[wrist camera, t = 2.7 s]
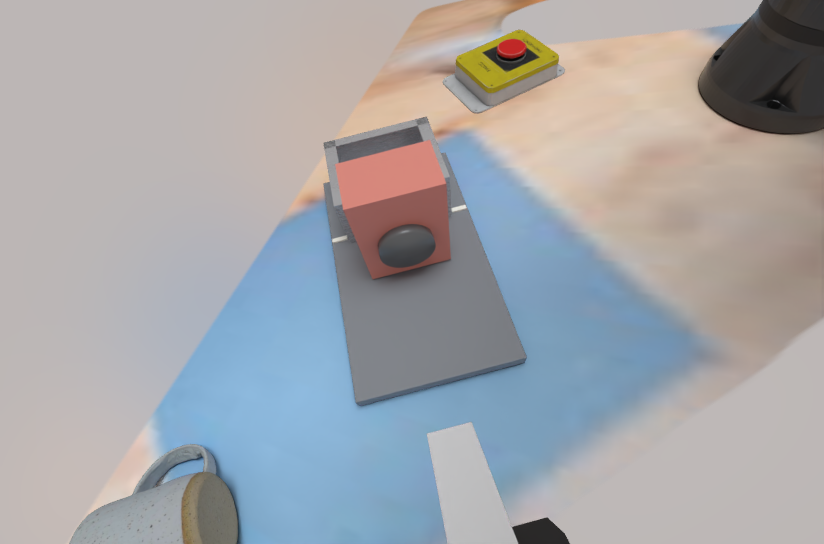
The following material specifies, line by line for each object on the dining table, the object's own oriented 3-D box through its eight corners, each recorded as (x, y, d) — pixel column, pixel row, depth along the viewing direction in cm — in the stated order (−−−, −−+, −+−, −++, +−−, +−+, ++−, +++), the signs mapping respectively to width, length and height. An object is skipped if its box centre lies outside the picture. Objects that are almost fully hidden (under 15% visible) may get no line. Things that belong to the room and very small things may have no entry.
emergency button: (574, 43, 50) (476, 88, 48) (567, 75, 54) (475, 118, 52) (530, 14, 55) (438, 54, 52) (526, 45, 58) (440, 84, 56)
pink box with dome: (437, 220, 41) (429, 139, 32) (453, 267, 38) (450, 193, 29) (364, 239, 41) (335, 164, 32) (374, 287, 38) (345, 220, 29)
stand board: (445, 161, 48) (445, 151, 46) (524, 362, 34) (526, 356, 33) (327, 192, 47) (322, 182, 46) (360, 406, 34) (355, 402, 33)
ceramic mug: (252, 567, 29) (189, 585, 23) (144, 620, 28) (47, 654, 22) (232, 430, 35) (177, 412, 28) (141, 470, 34) (63, 462, 27)
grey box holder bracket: (430, 159, 46) (426, 116, 41) (451, 216, 41) (450, 176, 36) (339, 182, 46) (323, 142, 41) (350, 242, 41) (333, 206, 36)
